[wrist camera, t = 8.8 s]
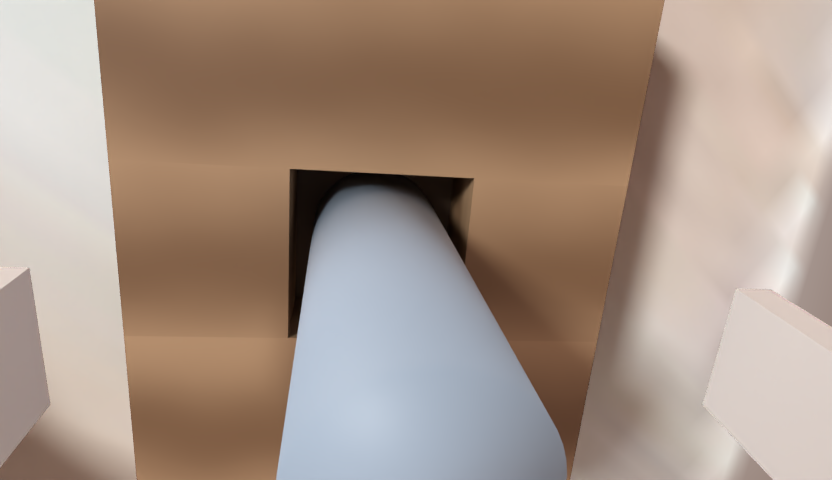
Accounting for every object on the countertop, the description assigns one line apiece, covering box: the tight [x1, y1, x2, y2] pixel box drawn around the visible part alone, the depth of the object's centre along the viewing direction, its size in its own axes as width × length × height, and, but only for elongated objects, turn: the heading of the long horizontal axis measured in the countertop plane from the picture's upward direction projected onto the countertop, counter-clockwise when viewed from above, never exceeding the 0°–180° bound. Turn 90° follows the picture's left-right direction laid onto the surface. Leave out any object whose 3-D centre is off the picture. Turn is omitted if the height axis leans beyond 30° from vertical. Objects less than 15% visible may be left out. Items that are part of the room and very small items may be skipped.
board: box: [94, 0, 665, 480], centre depth 18 cm, size 16×14×4 cm
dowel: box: [276, 172, 567, 480], centre depth 14 cm, size 4×4×12 cm
